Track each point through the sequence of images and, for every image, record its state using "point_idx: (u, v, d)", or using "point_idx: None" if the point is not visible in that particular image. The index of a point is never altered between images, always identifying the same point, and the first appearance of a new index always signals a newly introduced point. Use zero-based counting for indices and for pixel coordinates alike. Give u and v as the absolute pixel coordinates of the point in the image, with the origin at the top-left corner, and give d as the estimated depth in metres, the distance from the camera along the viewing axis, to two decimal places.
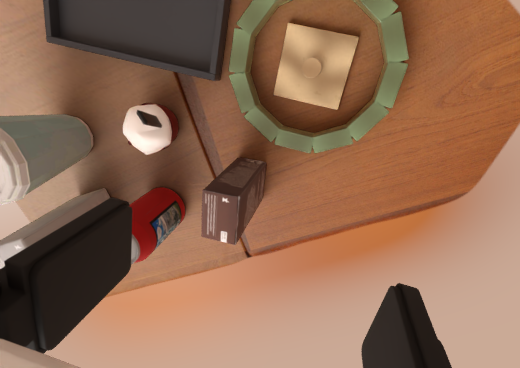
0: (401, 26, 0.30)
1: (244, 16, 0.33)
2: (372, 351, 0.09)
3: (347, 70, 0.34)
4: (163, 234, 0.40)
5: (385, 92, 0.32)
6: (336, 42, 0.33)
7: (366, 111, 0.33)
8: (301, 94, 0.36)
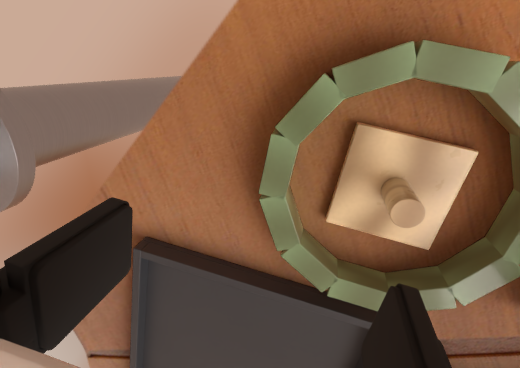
0: (355, 64, 0.18)
1: (314, 282, 0.24)
2: (372, 351, 0.09)
3: (409, 138, 0.20)
4: None
5: (472, 75, 0.17)
6: (361, 157, 0.21)
7: (505, 107, 0.17)
8: (436, 209, 0.22)
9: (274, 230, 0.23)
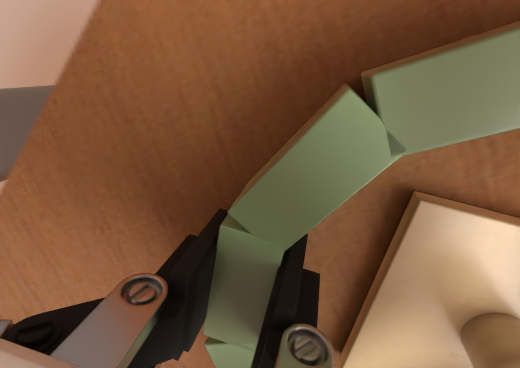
0: (440, 64, 0.06)
1: None
2: None
3: None
4: None
5: None
6: (423, 267, 0.10)
7: None
8: None
9: None
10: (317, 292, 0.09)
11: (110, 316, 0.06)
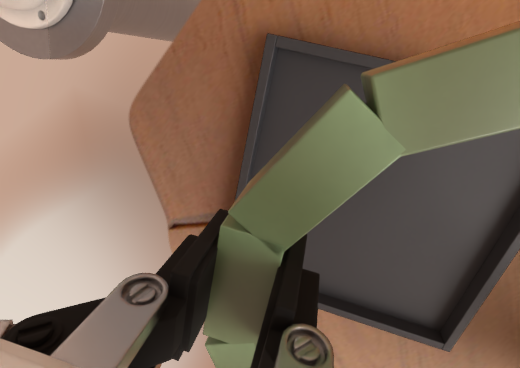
0: (439, 65, 0.06)
1: None
2: None
3: None
4: None
5: None
6: None
7: None
8: None
9: None
10: (317, 292, 0.09)
11: (110, 316, 0.06)
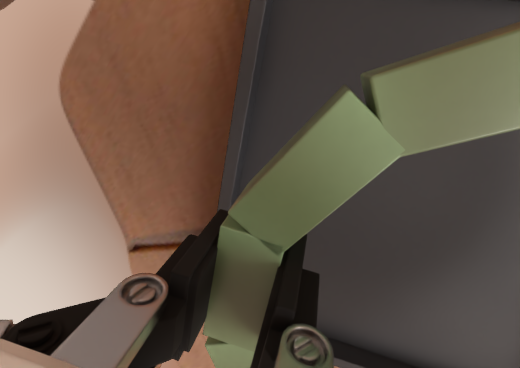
0: (437, 66, 0.06)
1: None
2: None
3: None
4: None
5: None
6: None
7: None
8: None
9: None
10: (317, 292, 0.09)
11: (110, 316, 0.06)
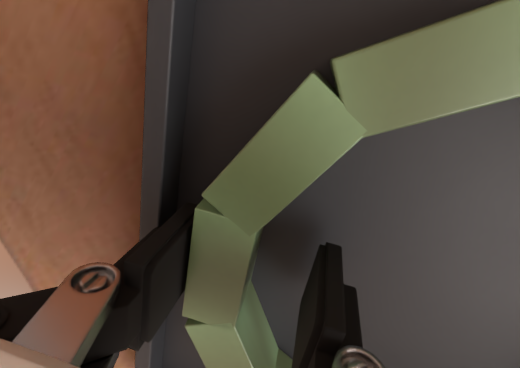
0: (394, 49, 0.06)
1: None
2: (304, 302, 0.11)
3: None
4: None
5: None
6: None
7: None
8: None
9: None
10: (357, 308, 0.09)
11: (63, 307, 0.06)
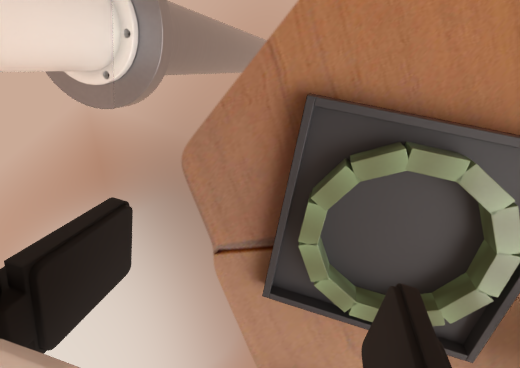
0: (366, 161, 0.26)
1: (338, 304, 0.32)
2: (372, 351, 0.09)
3: None
4: None
5: (446, 170, 0.25)
6: None
7: (469, 191, 0.25)
8: None
9: (309, 267, 0.32)
10: None
11: None
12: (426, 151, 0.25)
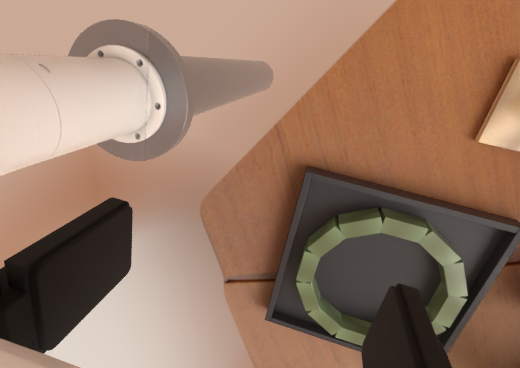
0: (350, 224, 0.34)
1: (327, 329, 0.40)
2: (372, 351, 0.09)
3: None
4: None
5: (410, 234, 0.33)
6: (518, 85, 0.28)
7: (428, 250, 0.33)
8: None
9: (304, 300, 0.39)
10: None
11: None
12: (396, 220, 0.33)
